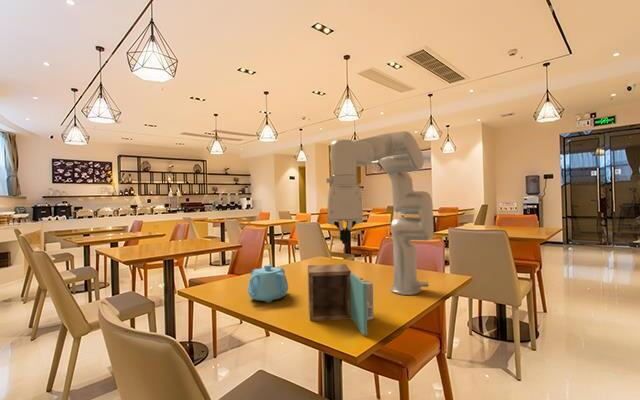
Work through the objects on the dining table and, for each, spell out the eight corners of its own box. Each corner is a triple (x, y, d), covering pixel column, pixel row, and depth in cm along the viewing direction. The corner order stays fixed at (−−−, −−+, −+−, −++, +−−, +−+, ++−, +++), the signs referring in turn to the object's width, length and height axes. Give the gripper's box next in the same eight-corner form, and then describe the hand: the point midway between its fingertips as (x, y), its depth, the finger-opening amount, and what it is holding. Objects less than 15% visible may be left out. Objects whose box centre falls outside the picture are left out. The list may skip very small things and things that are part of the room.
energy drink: (356, 315, 113) (355, 280, 113) (371, 314, 113) (370, 280, 113) (359, 321, 107) (358, 285, 107) (375, 320, 108) (374, 284, 108)
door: (350, 318, 109) (350, 273, 109) (357, 318, 109) (356, 273, 109) (363, 335, 95) (362, 284, 95) (371, 334, 96) (370, 283, 96)
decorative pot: (251, 293, 142) (250, 261, 142) (288, 291, 143) (288, 260, 143) (245, 305, 126) (244, 270, 126) (287, 303, 127) (286, 268, 127)
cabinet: (346, 307, 122) (345, 264, 122) (351, 318, 110) (350, 271, 110) (308, 308, 121) (307, 265, 121) (309, 320, 109) (308, 272, 109)
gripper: (319, 181, 94) (321, 245, 94) (371, 180, 95) (372, 244, 95) (318, 182, 101) (319, 242, 102) (366, 182, 102) (367, 240, 103)
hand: (345, 243), depth 98 cm, fingers closed
